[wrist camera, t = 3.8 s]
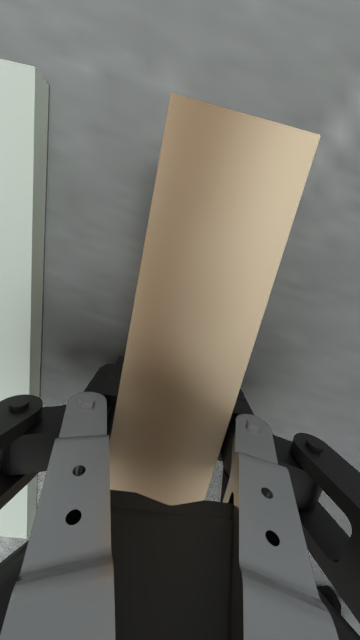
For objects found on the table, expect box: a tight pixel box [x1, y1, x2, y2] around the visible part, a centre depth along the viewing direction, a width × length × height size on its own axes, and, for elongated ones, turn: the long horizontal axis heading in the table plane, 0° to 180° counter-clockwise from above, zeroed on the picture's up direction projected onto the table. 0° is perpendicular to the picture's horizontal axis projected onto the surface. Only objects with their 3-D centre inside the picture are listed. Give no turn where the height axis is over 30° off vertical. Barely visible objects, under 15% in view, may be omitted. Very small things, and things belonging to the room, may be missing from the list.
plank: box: [109, 93, 321, 505], centre depth 11 cm, size 4×20×5 cm, turn 168°
